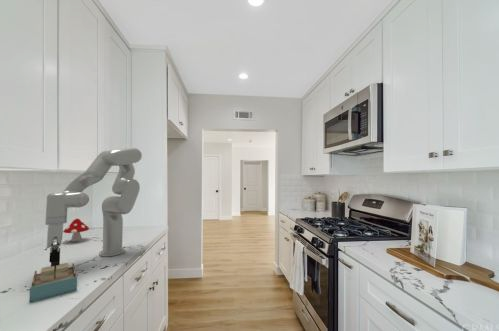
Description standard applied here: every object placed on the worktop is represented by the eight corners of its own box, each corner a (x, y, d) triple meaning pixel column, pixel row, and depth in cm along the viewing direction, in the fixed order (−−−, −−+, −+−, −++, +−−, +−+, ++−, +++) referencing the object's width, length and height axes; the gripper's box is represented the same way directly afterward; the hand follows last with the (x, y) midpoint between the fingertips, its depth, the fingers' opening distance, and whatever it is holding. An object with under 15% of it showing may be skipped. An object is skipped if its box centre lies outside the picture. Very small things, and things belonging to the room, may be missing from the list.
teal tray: (31, 293, 85) (32, 279, 85) (75, 282, 94) (75, 270, 94) (29, 302, 79) (29, 287, 79) (76, 290, 87) (77, 276, 87)
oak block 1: (41, 278, 93) (41, 268, 93) (54, 275, 95) (54, 266, 96) (40, 282, 90) (40, 271, 90) (54, 279, 92) (54, 269, 92)
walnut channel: (34, 279, 97) (35, 270, 97) (73, 271, 105) (73, 263, 105) (31, 292, 86) (31, 283, 86) (75, 282, 94) (75, 273, 94)
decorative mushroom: (81, 237, 162) (82, 216, 162) (94, 239, 156) (94, 217, 157) (58, 243, 149) (58, 219, 149) (71, 245, 143) (72, 221, 144)
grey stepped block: (41, 273, 103) (42, 250, 103) (67, 268, 108) (68, 246, 109) (41, 275, 100) (42, 252, 101) (67, 270, 106) (68, 248, 106)
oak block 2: (55, 275, 96) (56, 265, 96) (68, 272, 98) (68, 263, 98) (55, 278, 93) (55, 268, 93) (68, 276, 95) (68, 266, 95)
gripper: (46, 218, 109) (44, 255, 108) (44, 224, 96) (42, 266, 95) (66, 216, 114) (64, 252, 113) (67, 222, 101) (65, 262, 100)
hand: (54, 258), depth 104 cm, fingers open, 9 cm apart
